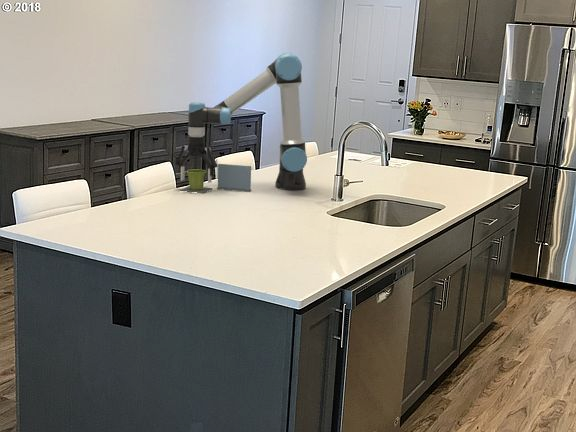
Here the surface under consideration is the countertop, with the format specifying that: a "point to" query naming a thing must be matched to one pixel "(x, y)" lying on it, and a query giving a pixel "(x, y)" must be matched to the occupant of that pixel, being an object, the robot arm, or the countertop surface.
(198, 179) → the plant pot
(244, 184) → the screen
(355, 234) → the countertop surface
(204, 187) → the mat
